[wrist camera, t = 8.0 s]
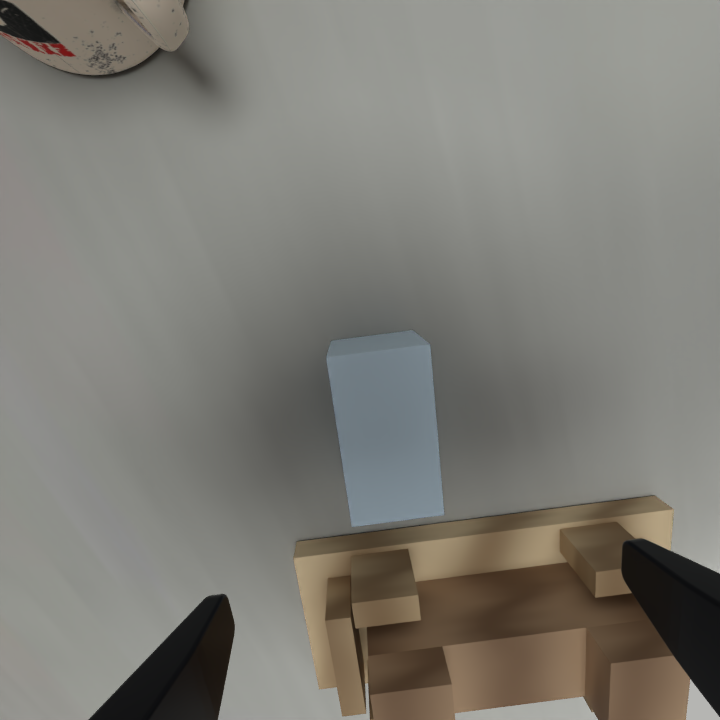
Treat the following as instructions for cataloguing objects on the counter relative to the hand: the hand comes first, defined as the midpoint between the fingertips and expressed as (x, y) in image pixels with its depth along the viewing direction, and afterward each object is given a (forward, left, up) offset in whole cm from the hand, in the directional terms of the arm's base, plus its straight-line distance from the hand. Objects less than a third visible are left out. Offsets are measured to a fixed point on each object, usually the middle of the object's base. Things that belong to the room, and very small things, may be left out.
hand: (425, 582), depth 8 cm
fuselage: (-4, +11, -9) cm, 15 cm away
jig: (-4, +11, -10) cm, 16 cm away
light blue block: (0, 0, -11) cm, 11 cm away
